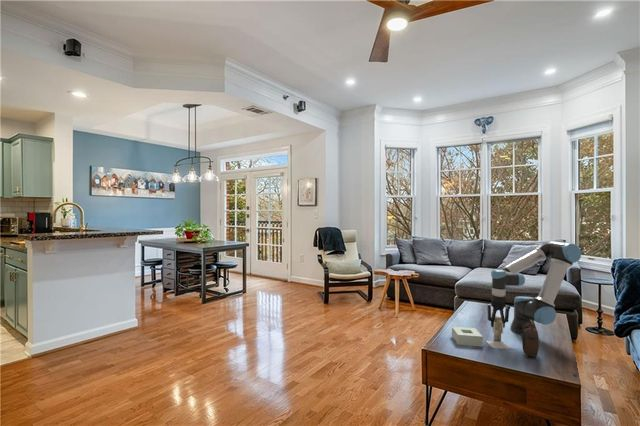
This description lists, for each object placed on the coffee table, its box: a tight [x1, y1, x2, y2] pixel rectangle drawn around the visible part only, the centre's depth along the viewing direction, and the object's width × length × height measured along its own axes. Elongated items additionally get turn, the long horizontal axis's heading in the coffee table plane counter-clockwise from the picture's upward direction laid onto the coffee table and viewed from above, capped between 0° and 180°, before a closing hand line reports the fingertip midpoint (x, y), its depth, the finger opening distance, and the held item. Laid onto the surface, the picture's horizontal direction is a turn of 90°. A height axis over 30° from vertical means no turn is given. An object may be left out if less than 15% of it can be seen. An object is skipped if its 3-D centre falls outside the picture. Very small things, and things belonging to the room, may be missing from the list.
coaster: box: [485, 340, 511, 350], centre depth 200 cm, size 10×10×1 cm
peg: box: [493, 316, 502, 342], centre depth 209 cm, size 4×4×14 cm
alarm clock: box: [521, 320, 540, 360], centre depth 186 cm, size 15×7×20 cm, turn 153°
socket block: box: [451, 326, 484, 347], centre depth 206 cm, size 14×14×6 cm
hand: (497, 332), depth 209 cm, fingers closed on peg, 4 cm apart
